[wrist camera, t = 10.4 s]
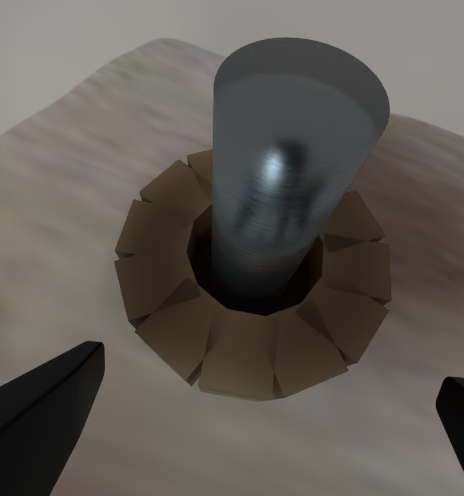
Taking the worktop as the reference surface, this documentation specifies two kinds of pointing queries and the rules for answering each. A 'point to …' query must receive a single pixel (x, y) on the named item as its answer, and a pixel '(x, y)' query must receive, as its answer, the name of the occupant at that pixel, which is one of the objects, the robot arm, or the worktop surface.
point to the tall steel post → (283, 159)
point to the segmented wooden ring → (241, 323)
